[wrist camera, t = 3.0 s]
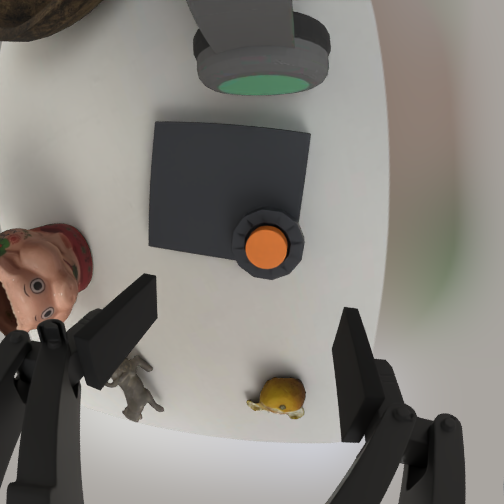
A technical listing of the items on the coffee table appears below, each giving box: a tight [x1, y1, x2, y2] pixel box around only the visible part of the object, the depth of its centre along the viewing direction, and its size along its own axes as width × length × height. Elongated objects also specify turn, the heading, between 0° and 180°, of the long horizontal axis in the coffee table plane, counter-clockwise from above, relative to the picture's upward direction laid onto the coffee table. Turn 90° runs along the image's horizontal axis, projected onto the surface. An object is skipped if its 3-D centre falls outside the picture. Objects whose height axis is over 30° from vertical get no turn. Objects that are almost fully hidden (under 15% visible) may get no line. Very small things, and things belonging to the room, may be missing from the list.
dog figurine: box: [105, 356, 164, 422], centre depth 36 cm, size 12×6×7 cm, turn 8°
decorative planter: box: [0, 223, 93, 336], centre depth 29 cm, size 20×12×14 cm, turn 95°
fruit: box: [247, 377, 306, 419], centre depth 35 cm, size 8×8×4 cm
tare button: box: [245, 226, 287, 269], centre depth 27 cm, size 4×4×2 cm
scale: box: [149, 122, 311, 280], centre depth 28 cm, size 16×14×4 cm
